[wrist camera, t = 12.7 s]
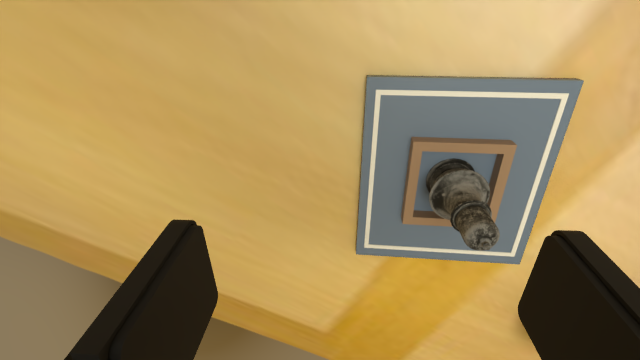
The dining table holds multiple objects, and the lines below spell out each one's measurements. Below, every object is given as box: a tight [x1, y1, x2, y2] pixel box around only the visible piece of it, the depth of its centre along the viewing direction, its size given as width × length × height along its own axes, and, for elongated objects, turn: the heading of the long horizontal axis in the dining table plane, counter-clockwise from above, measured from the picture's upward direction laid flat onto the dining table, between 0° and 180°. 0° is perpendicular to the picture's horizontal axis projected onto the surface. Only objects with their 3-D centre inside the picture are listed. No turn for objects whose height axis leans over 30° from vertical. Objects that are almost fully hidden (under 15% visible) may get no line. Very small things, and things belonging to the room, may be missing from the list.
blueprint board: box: [356, 75, 583, 264], centre depth 37 cm, size 22×20×2 cm
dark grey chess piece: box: [426, 158, 500, 251], centre depth 31 cm, size 6×6×12 cm
